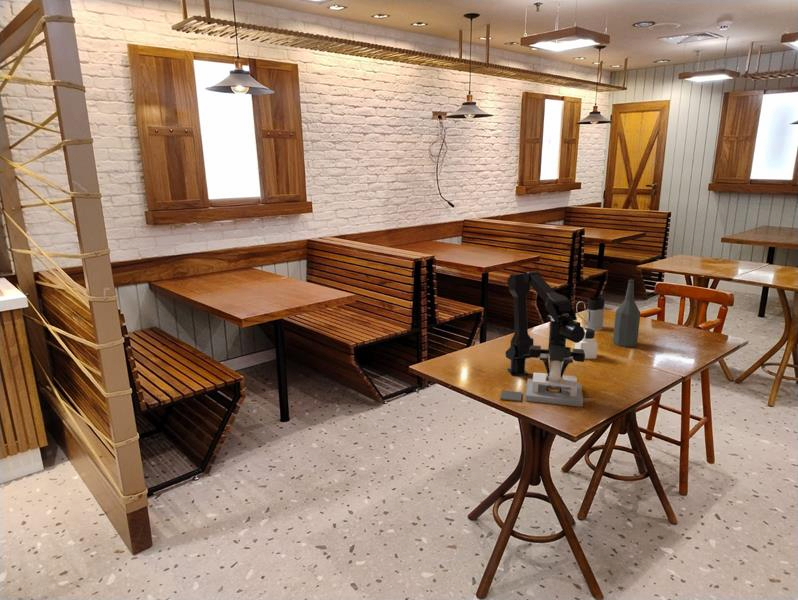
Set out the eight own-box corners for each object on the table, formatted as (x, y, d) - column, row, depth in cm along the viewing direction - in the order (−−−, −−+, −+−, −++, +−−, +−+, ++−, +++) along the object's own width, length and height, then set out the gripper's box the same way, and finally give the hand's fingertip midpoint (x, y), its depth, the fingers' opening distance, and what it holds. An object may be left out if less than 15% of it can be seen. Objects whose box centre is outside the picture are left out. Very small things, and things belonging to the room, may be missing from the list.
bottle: (631, 340, 254) (638, 277, 247) (640, 347, 245) (647, 282, 238) (609, 340, 255) (615, 277, 247) (617, 347, 245) (623, 282, 238)
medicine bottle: (590, 353, 238) (592, 326, 235) (596, 358, 231) (598, 331, 228) (574, 353, 238) (576, 326, 235) (579, 359, 231) (582, 331, 228)
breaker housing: (527, 383, 206) (528, 368, 204) (580, 388, 201) (581, 373, 199) (525, 400, 191) (526, 384, 189) (582, 406, 186) (584, 390, 184)
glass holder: (606, 330, 270) (608, 300, 267) (577, 330, 270) (579, 301, 266) (599, 325, 279) (602, 296, 275) (571, 325, 278) (574, 296, 275)
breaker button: (547, 391, 198) (548, 384, 197) (559, 392, 197) (559, 385, 196) (547, 395, 194) (548, 388, 194) (559, 396, 193) (560, 390, 193)
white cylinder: (546, 385, 197) (548, 356, 194) (557, 384, 197) (559, 356, 194) (550, 389, 193) (552, 360, 190) (561, 389, 193) (563, 359, 191)
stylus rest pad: (502, 391, 198) (502, 390, 198) (521, 394, 196) (521, 392, 196) (500, 399, 191) (500, 398, 191) (520, 402, 190) (520, 400, 190)
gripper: (529, 339, 185) (526, 382, 189) (587, 343, 180) (583, 387, 184) (530, 329, 195) (528, 370, 199) (585, 333, 191) (582, 375, 194)
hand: (554, 376), depth 194 cm, fingers closed on white cylinder, 4 cm apart
